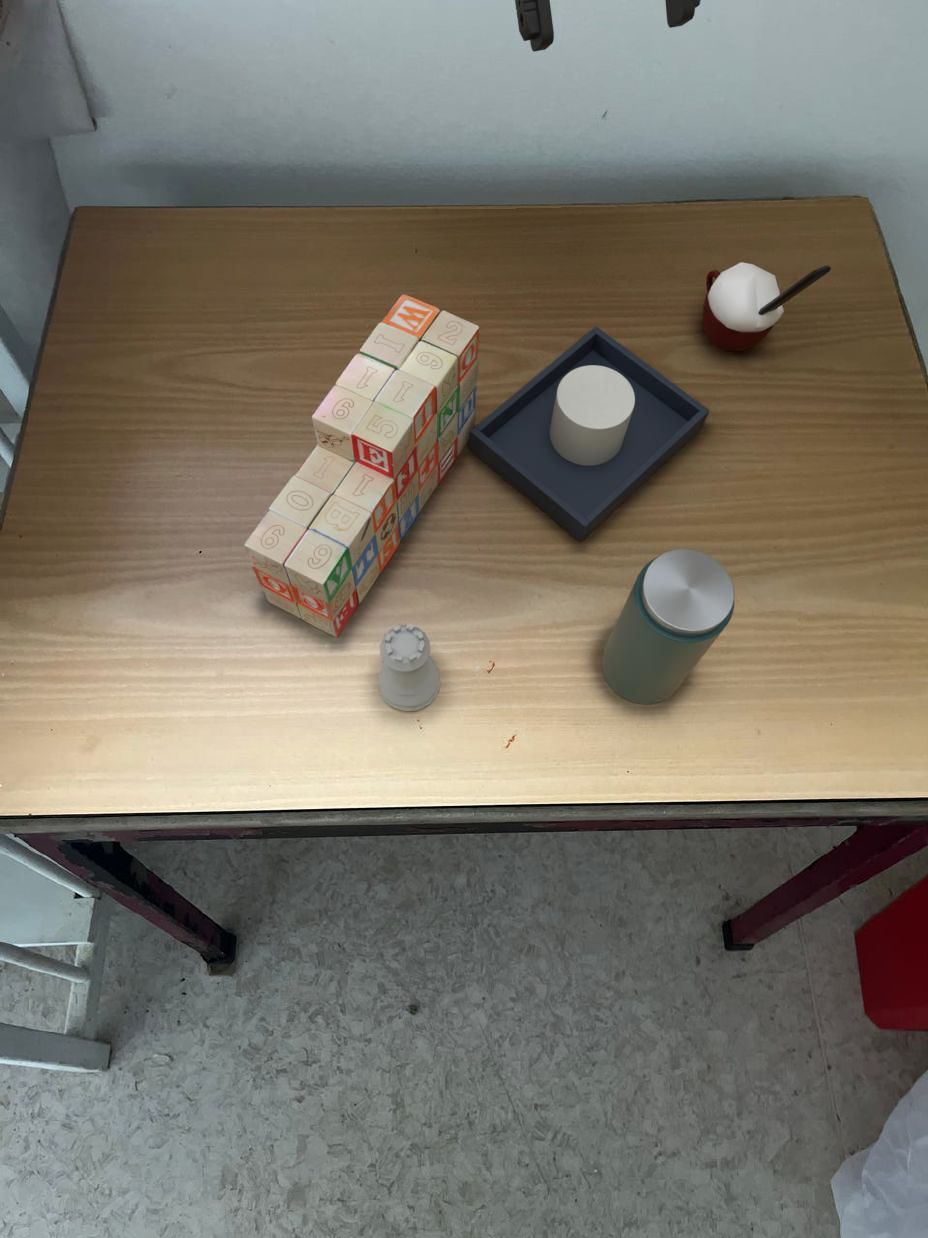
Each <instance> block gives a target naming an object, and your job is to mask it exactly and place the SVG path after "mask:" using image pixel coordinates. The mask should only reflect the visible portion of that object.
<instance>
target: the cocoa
mask: <svg viewBox="0 0 928 1238" xmlns="http://www.w3.org/2000/svg"><path fill="white" fill-rule="evenodd" d="M831 269H832V267H831V266H830V265H827V264H826V265H824V266H821V267H819V268H816V269H814V270H812V271H811V272H809V273H808V274H806V275H805V276H804V277H802V278H801V279H799V280H798V281H796V282H795V283H794V284H793V285H791V286H790V287H789V288H787V289H785V290H784V291H783V292H780V289H779V286H778V283H777V278H776V275H775V274H773V273H771V272H769V271H766V270H765V269H763V268H761V267H759V266H757V265H755V264H753V263H747V262H742V261H741V262H739V263H737V264H735V265H733V266H731V267H729V268H727V269H725V270H724V271H721V272H720V270H718V269H714V270H711V271H709V272H708V273H707V275H706V277H705V279H706V280H705V284H706V285H705V286H706V291H707V293H706V295H705V298H704V303H703V307H702V308H703V309H702V310H703V311H702V318H701V319H702V320H701V326H702V328H703V330H704V333H705V334H706V337H707V339H708V340H709V341H710V342H711V343H713V344H714V345H715V346H716V347H718V348H719V349H723V350H726V351H728V352H742V351H747V350H748V349H751V348H753V347H755V346H757V345H758V344H760V343H761V342H762V341H763V340H764V339H765V338H766V337H767V336H768V334H769V333H770V331H771V330H772V329H773V327H774V326H775V325H776V323H777V322H778V320H779V319H780V318H781V317H782V315H783V314H784V312H785V310H784V307H783V305H784V304H786V303H787V302H789V301H790V300H791V299H793V298H794V297H795V296H798V294H800V293H801V292H803V291H805V290H806V289H807V288H808V287H809V286H811V285H813V284H814V283H815V282H817V281H818V280H820V279H821V278H822V277H824V276H825V275H826V274H827V275H828V273H830V271H831Z"/></svg>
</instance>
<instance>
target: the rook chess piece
mask: <svg viewBox="0 0 928 1238" xmlns="http://www.w3.org/2000/svg"><path fill="white" fill-rule="evenodd" d="M379 651H380V652H379V653H380V656H381V659H382V660H383V662H382V663H381V666H380V668H379V671H378V674H377V675H378V678H377V679H378V681H377V682H378V691H379V692H380V695H381V697H382V699H383V701H385V702H386V703H387V704H388V705H390V706H391V707H392V708H393V709H397V710H400V711H403V712H411V711H412V712H413V711H418V710H421V709H423V708H425V707H427V706H429V705H430V703H431V702H433V700H434V699H435V698H436V697H437V696H438V693H439V690H440V687H441V677H440V675H441V674H440V671H439V668H438V666H437V664H436V662H435V660H434V659H433V658H432V657H431V656H430V653H431V651H432V650H431V641H430V639H429V637H428V635H427V634H426V632H424V631H423V630H422V629H421V628H419V626H415V625H412V624H410V623H409V624H408V623H406V624H398V625H395V626H393V627H392V628H389V630H388V631H386V633H385V634H384V635H383V636H382V638H381V641H380V644H379Z"/></svg>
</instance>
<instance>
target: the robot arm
mask: <svg viewBox="0 0 928 1238" xmlns="http://www.w3.org/2000/svg"><path fill="white" fill-rule="evenodd" d="M664 1H665V12H666V13H665V14H666V22H667V26H668V28H670V29H673V28H677V27H682V26H684V25H685V24H687V23H688V22H690V21H692V20H693V18H694V17H695V12H696V8H698V7H700V5H701V1H702V0H664ZM514 3H515V10H516V18H517V25H518V32H519V34H520V37H522V40H523V42H527V41H529V43H530V48H531V51H532V52H540V51H545V50H547V49H548V48H549V47H550V46H551V45H552V44H553V43H554V39H555V32H554V23H553V15H552V8H551V7H552V6H551V1H550V0H514Z"/></svg>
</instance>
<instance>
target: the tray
mask: <svg viewBox="0 0 928 1238" xmlns="http://www.w3.org/2000/svg"><path fill="white" fill-rule="evenodd" d="M588 365H597V366H604V367H607V368H610V369H613V370H615V371H617V372H618V373H620V374H621V375H622V376H624V377H625V378H626V379H627V380H628V382H629V383H630V385H631V386H632V388H633V391H634V395H635V405H634V409H633V412H632V415H631V418H630V421H629V424H628V427H627V430H626V433H625V436H624V439H623V443H622V446H621V448H620V450H619V451H618V453H617V454H616V455H615V456H614V457H613V458H612V459H610V460H609V461H607V462H605V463H602V464H599V465H594V466H584V465H578V464H575V463H572V462H570V461H568V460H566V459H565V458H563V457H562V456H561V455H560V454H559V453H558V452H557V451H556V450H555V448H554V447H553V445H552V443H551V439H550V426H551V421H552V415H553V410H554V405H555V399H556V394H557V389H558V386H559V383H560V382H561V380H562V379H563V378H564V377H565V376H566V375H567V374H568V373H569V372H571V371H572V370H574V369H576V368H579V367H583V366H588ZM710 411H711V410H710V409H709V408H708V407H706V406H705V405H704V404H702V403H701V402H699V401H698V400H696V399H695V398H694V397H692V396H691V395H690V394H689V393H688V392H687V391H684V390H683V389H681V388H680V387H679V386H678V385H676V384H675V383H674V382H672V381H671V380H670V379H668V378H667V377H666V376H664V375H663V374H661V373H660V372H659V371H657V370H656V369H655V368H654V367H652V366H651V365H649V364H648V363H647V362H645V361H644V360H643V359H642V358H640V357H639V356H637V355H636V354H635V353H633V352H632V351H631V350H630V349H628V348H626V347H625V346H624V345H622V344H621V343H619V342H618V341H617V340H616V339H614V338H613V337H612V336H610V335H609V334H607V333H606V332H605V331H603V330H602V329H600V328H599V327H598V326H596V325H595V326H594V327H593V328H591V329H590V330H589V331H588V332H587V333H586V334H584V335H583V336H582V337H581V338H580V339H578V340H577V341H576V342H575V343H573V344H572V345H571V346H570V347H569V348H568V349H566V350H564V352H563V353H562V354H560V355H559V356H558V357H557V358H556V359H554V360H553V361H552V362H551V363H550V364H548V365H547V366H546V367H545V368H544V369H542V370H541V371H540V372H539V373H537V374H536V375H535V376H534V377H533V378H532V379H530V380H529V381H528V382H527V383H526V384H524V385H523V386H521V388H520V389H518V390H517V391H516V392H515V393H513V394H512V395H511V396H510V397H509V398H507V399H506V400H505V401H504V402H503V403H501V404H500V405H499V406H498V407H497V408H496V409H494V410H493V411H492V412H491V413H489V414H488V415H487V416H486V417H485V418H484V419H482V420H481V421H480V422H479V423H478V424H476V425H475V427H474V428H473V429H472V430H471V431H470V439H469V441H468V443H469V444H468V449H469V451H470V452H471V453H473V454H474V455H475V456H477V457H478V458H479V459H480V460H481V461H482V462H484V463H485V464H486V465H487V466H488V467H490V468H491V469H492V470H493V471H494V472H496V473H497V474H498V475H499V476H501V478H503V479H504V480H505V481H506V482H508V483H509V484H510V485H511V486H513V487H514V488H515V489H516V490H518V491H519V493H520V494H522V495H523V496H524V497H525V498H527V499H528V500H529V501H530V502H531V503H533V504H534V505H535V506H536V507H538V508H539V509H540V510H541V511H543V512H544V513H545V514H546V515H547V516H549V518H551V519H552V520H553V521H554V522H555V523H557V524H558V526H560V527H561V528H563V529H564V530H565V531H566V532H567V533H568V534H570V535H571V536H572V537H574V538H575V540H577V541H578V542H579V543H582V542H583V541H584V540H585V539H586V538H587V537H589V536H590V535H591V534H592V533H593V532H594V531H595V530H596V529H597V528H598V527H599V526H600V525H601V524H602V523H603V522H605V520H607V519H608V518H609V517H610V516H611V515H612V514H613V513H614V512H615V511H616V510H617V509H618V508H619V507H620V506H621V505H623V504H624V502H626V501H627V500H628V499H629V498H630V497H631V496H632V495H633V494H634V493H635V492H636V491H637V490H638V489H639V488H641V487H642V486H643V485H644V484H645V483H646V482H648V480H649V479H650V478H651V477H652V476H653V475H654V474H655V473H657V472H658V471H659V470H660V469H661V468H662V467H663V466H664V465H666V463H667V462H669V460H670V459H672V458H673V456H674V455H676V454H677V453H678V452H679V451H680V450H681V449H682V448H683V447H684V446H685V445H687V443H689V441H691V440H692V439H693V438H694V437H695V436H696V435H697V434H699V432H700V431H702V429H703V426H704V424H705V423H706V420H707V418H708V416H709V413H710Z"/></svg>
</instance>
